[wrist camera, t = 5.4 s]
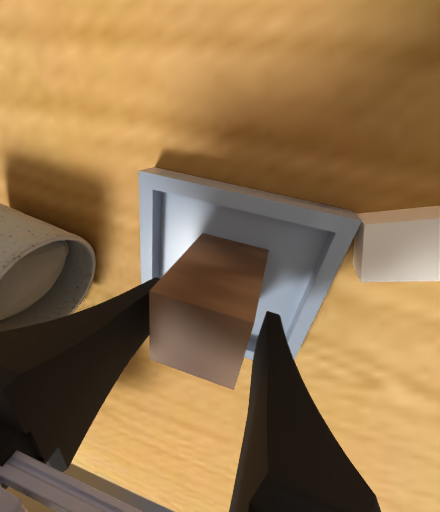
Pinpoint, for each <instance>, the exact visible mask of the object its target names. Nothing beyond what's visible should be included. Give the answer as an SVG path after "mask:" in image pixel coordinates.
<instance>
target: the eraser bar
mask: <svg viewBox="0 0 440 512" xmlns="http://www.w3.org/2000/svg"><path fill="white" fill-rule="evenodd" d="M357 215H358V217H359V218H360V219H361V220H362V222H361V224H360V226H359V228H358V230H357V232H356V234H355V236H354V255H353V267H354V269H355V271H356V273H357V276H358V278H359V280H360V282H409V281H440V205H439V206H429V207H419V208H409V209H399V210H389V211H379V212H369V213H358V214H357Z"/></svg>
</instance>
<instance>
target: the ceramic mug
mask: <svg viewBox="0 0 440 512" xmlns="http://www.w3.org/2000/svg"><path fill="white" fill-rule="evenodd" d="M95 268H96V258H95V253H94V250H93V248H92V247H91V245H90V244H89V243H88V242H87V241H86V240H84V239H83V238H81V237H79V236H78V235H76V234H73V233H70V232H67V231H65V230H63V229H60V228H58V227H56V226H54V225H51V224H49V223H46V222H44V221H41V220H39V219H36V218H34V217H31V216H29V215H26V214H24V213H22V212H20V211H18V210H16V209H13V208H11V207H8V206H5V205H3V204H0V332H1V331H6V330H12V329H17V328H21V327H26V326H30V325H35V324H39V323H43V322H47V321H50V320H54V319H57V318H61V317H64V316H67V315H71V314H72V313H73V312H74V311H75V310H76V309H77V307H78V306H79V304H80V303H81V302H82V300H83V298H84V297H85V295H86V294H87V292H88V290H89V288H90V286H91V284H92V281H93V278H94V274H95Z"/></svg>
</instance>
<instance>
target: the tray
mask: <svg viewBox="0 0 440 512" xmlns="http://www.w3.org/2000/svg"><path fill="white" fill-rule="evenodd" d="M139 204H140V251H141V284H143V283H145V282H147V281H149V280H151V279H153V278H155V277H157V278H160V279H161V278H162V277H163V275H164V274H165V273H166V272H167V271H168V270H169V269H170V268H171V267H172V266H173V265H174V263H175V262H176V261H177V260H178V259H179V258H180V257H181V256H182V255H183V254H184V253H185V251H186V250H187V249H188V248H189V247H190V246H191V245H192V244H193V243H194V242H195V241H196V239H197V238H198V237H199V236H200V235H201V234H202V233H205V234H209V235H213V236H216V237H220V238H224V239H228V240H232V241H236V242H240V243H244V244H248V245H252V246H256V247H260V248H264V249H267V250H269V252H268V257H267V262H266V267H265V272H264V277H263V282H262V287H261V292H260V297H259V302H258V307H257V312H256V317H255V322H254V326H253V329H252V332H251V336H250V339H249V342H248V345H247V349H246V352H245V355H244V357H245V358H247V359H250V360H253V357H254V352H255V347H256V342H257V338H258V335H259V332H260V329H261V326H262V323H263V320H264V317H265V315H266V312H267V311H269V312H273V313H276V314H279V315H280V316H281V320H282V325H283V329H284V332H285V336H286V339H287V342H288V345H289V348H290V351H291V353H292V356H293V359H295V357H296V355H297V353H298V351H299V349H300V347H301V345H302V343H303V341H304V339H305V337H306V335H307V332H308V330H309V328H310V326H311V324H312V322H313V320H314V318H315V316H316V314H317V312H318V310H319V308H320V306H321V304H322V302H323V300H324V298H325V296H326V293H327V291H328V289H329V287H330V285H331V283H332V281H333V279H334V277H335V275H336V273H337V271H338V269H339V267H340V265H341V263H342V261H343V259H344V257H345V255H346V252H347V250H348V248H349V246H350V244H351V242H352V240H353V238H354V236H355V234H356V232H357V230H358V228H359V226H360V224H361V222H362V220H361V219H360V218H359V217H358V215H357V214H356V213H355V212H354V211H352V210H348V209H343V208H339V207H334V206H330V205H325V204H320V203H316V202H311V201H307V200H302V199H298V198H293V197H289V196H284V195H279V194H275V193H270V192H266V191H261V190H257V189H252V188H247V187H243V186H238V185H234V184H229V183H225V182H220V181H215V180H211V179H206V178H202V177H197V176H193V175H188V174H183V173H179V172H174V171H170V170H165V169H161V168H156V167H153V168H149V169H144V170H140V171H139Z"/></svg>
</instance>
